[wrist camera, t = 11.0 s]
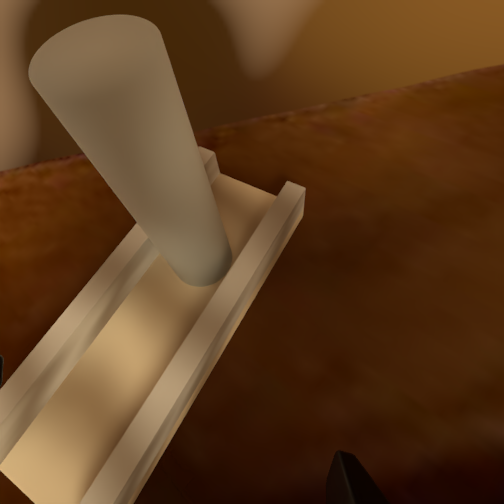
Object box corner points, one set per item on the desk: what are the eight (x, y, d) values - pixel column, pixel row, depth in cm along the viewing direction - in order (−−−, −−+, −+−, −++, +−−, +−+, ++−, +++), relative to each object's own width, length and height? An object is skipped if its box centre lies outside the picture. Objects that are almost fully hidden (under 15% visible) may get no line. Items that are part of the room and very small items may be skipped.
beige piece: (211, 297, 19) (99, 115, 7) (161, 270, 20) (0, 76, 9) (243, 247, 20) (188, 29, 9) (195, 225, 21) (92, 5, 10)
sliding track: (105, 551, 15) (65, 581, 12) (-2, 451, 17) (-56, 458, 14) (302, 216, 22) (305, 188, 19) (208, 176, 24) (199, 146, 21)
